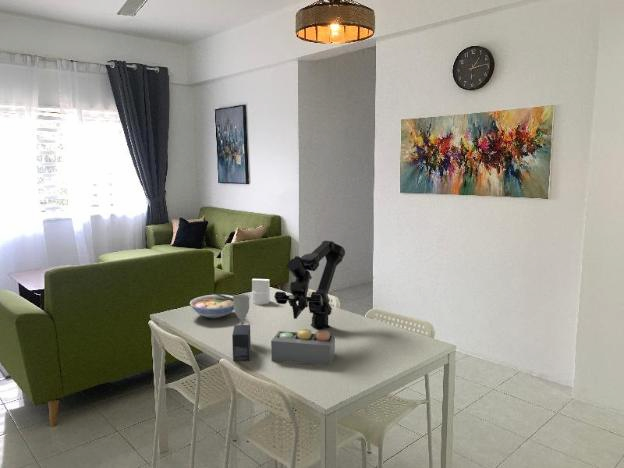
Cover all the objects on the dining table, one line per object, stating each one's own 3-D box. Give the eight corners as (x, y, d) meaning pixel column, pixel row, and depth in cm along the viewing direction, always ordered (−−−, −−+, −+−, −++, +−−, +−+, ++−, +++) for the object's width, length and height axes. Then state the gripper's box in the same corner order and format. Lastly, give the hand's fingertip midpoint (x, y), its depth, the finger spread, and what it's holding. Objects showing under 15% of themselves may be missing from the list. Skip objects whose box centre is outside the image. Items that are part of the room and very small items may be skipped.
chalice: (236, 343, 194) (235, 300, 191) (231, 337, 200) (230, 295, 197) (253, 340, 198) (252, 297, 195) (247, 334, 203) (247, 293, 201)
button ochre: (299, 336, 184) (299, 328, 184) (312, 337, 183) (312, 329, 183) (296, 341, 179) (296, 333, 179) (309, 342, 178) (309, 334, 178)
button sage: (281, 339, 186) (281, 332, 185) (294, 340, 185) (294, 333, 184) (278, 344, 181) (277, 336, 180) (291, 345, 180) (291, 337, 179)
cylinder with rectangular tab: (250, 304, 247) (249, 281, 245) (255, 299, 256) (254, 277, 254) (267, 305, 246) (266, 282, 244) (271, 300, 254) (271, 277, 252)
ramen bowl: (180, 315, 229) (179, 298, 228) (221, 305, 245) (221, 289, 243) (207, 328, 211) (206, 310, 210) (250, 317, 226) (250, 300, 225)
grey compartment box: (279, 349, 188) (278, 331, 187) (334, 354, 184) (334, 335, 182) (271, 360, 178) (271, 340, 177) (330, 365, 173) (330, 345, 172)
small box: (234, 350, 187) (233, 324, 185) (251, 349, 188) (250, 324, 186) (232, 361, 177) (231, 334, 175) (250, 361, 177) (249, 333, 176)
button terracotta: (317, 337, 183) (317, 329, 182) (330, 338, 182) (330, 330, 181) (314, 342, 178) (314, 334, 177) (328, 343, 177) (328, 335, 176)
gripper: (275, 271, 191) (267, 307, 182) (321, 274, 187) (315, 310, 178) (281, 285, 200) (273, 320, 191) (325, 288, 195) (319, 323, 187)
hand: (295, 318), depth 186 cm, fingers closed
